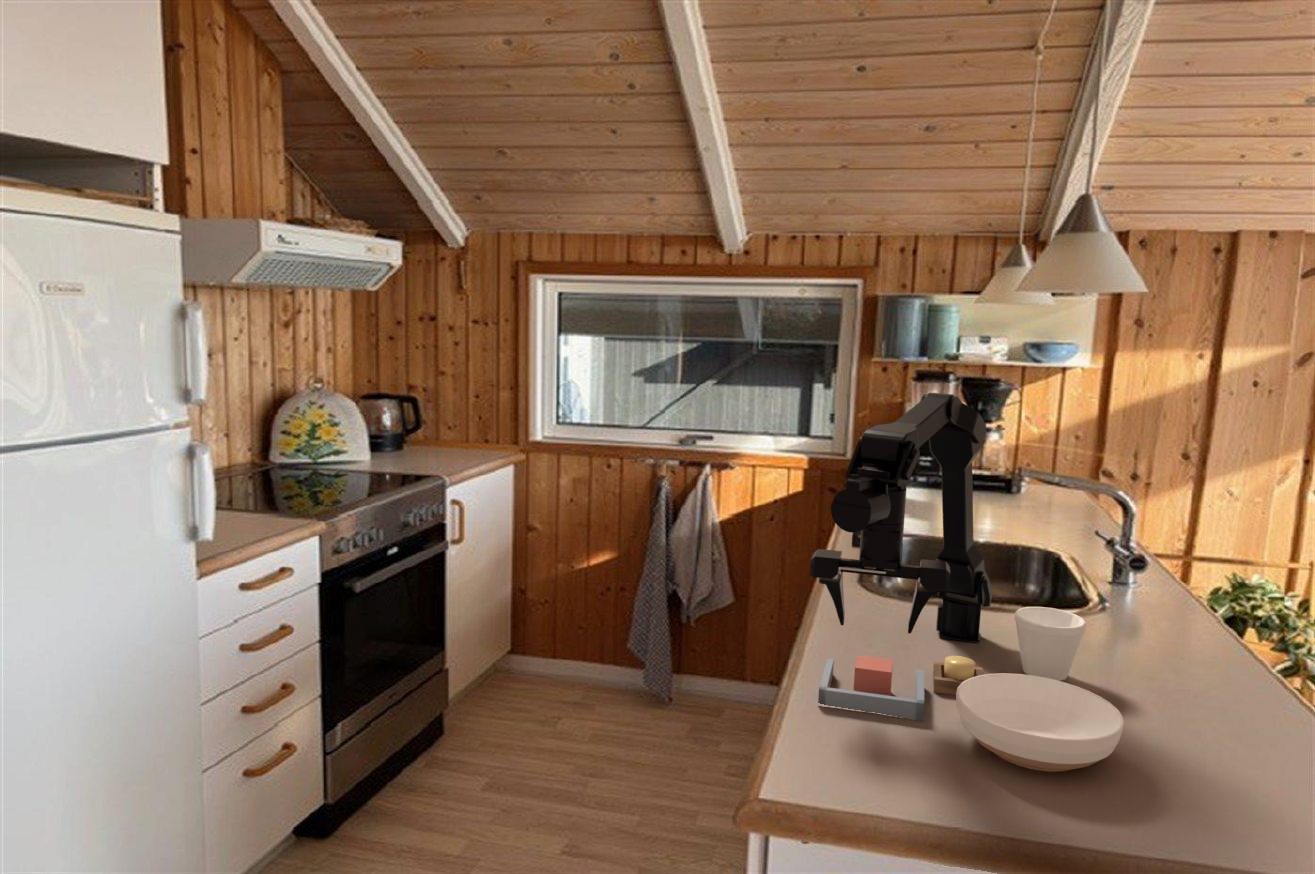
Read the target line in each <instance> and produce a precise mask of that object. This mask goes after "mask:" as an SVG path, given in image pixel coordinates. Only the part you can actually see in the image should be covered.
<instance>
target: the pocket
mask: <svg viewBox="0 0 1315 874" xmlns="http://www.w3.org/2000/svg"><path fill="white" fill-rule="evenodd" d="M834 664H835V659H834V658H829V657H827V658H826V662H825V666H824V669H823V672H822V676H821V681H820V683H819V684H820V685H819V687H818V699H817V704H818V703H820V704H824V705H828V706H835V707H841V708H848V709H854V710H861V711H865V712H875V713H881V714H886V715H892V716H897V717H902V718H901V719H904V718H908V719H907V720H911V719H912V720H913V721H918V722H923V721H924V713H925V710H924V709H925V671H924V669H923V670H922V669H916V675H915V699H914V698H909V697H908V698H907V697H902V696H893V695H891V696H887V695H880V694H872V693H865V692H858V691H854V690H850V689H849V690H848V689H843V688H834V687H831V685H832V680H833V677H832V676H834ZM830 684H831V685H830ZM897 717H896V718H897ZM912 720H911V721H912Z"/></svg>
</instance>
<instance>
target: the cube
mask: <svg viewBox="0 0 1315 874" xmlns="http://www.w3.org/2000/svg"><path fill="white" fill-rule="evenodd" d="M893 665H894V659H893V658H892V659H891V658H884V657H877V656H876V657H875V656H868V655H858V654H857V657H856V660H855V665H854V676H853V677H854V678H853V691H858V692H865V693H872V694H880V695H887V696H892V682H893Z"/></svg>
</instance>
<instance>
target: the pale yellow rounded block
mask: <svg viewBox="0 0 1315 874" xmlns="http://www.w3.org/2000/svg"><path fill="white" fill-rule="evenodd" d="M944 663H945V665H944V678H951V679H959V680H967V679H969V678H973V677H974V669H975V667H976V666H975V665H976V662H975V661H974V660H973V659H971V658H969V657H966V656H961V655H949V656H946V657H945V658H944Z"/></svg>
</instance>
